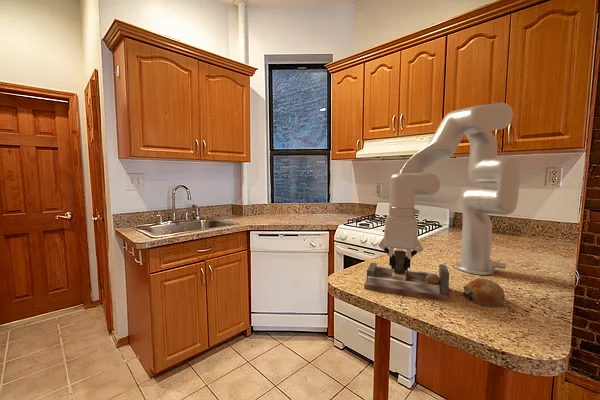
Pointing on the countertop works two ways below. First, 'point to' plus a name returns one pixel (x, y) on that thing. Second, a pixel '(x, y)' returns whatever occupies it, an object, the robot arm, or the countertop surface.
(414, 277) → the base
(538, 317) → the countertop surface
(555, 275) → the countertop surface
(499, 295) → the bread roll
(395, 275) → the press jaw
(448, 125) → the robot arm
